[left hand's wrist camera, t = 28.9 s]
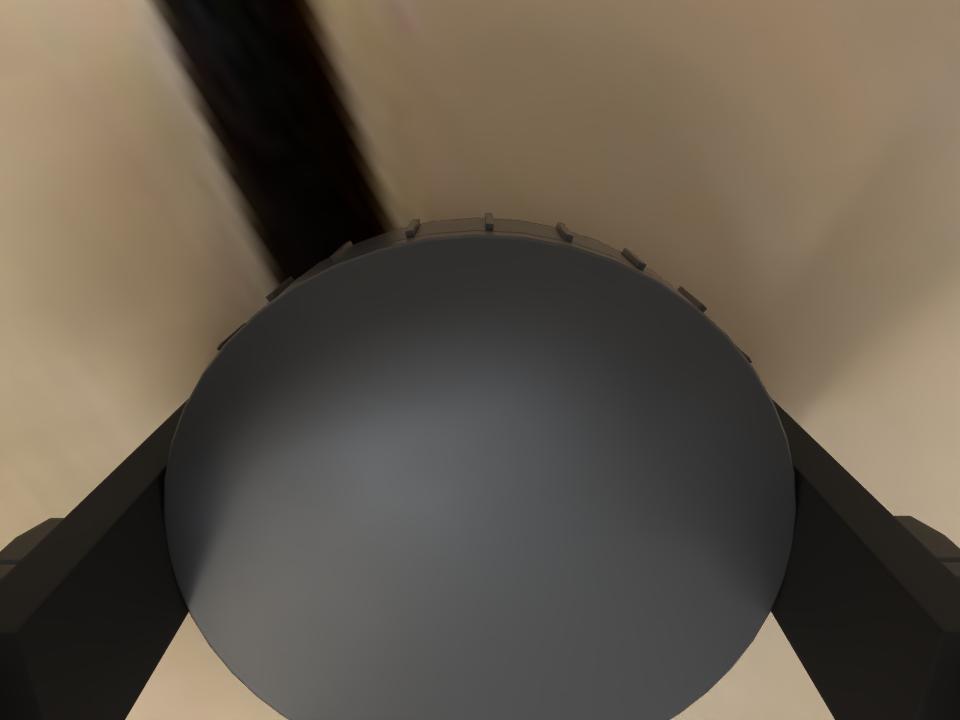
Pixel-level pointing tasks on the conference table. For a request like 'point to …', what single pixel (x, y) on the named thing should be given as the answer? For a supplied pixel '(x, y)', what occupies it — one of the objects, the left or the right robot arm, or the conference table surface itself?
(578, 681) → the lid
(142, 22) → the conference table surface
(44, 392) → the conference table surface
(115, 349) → the conference table surface
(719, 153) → the conference table surface
